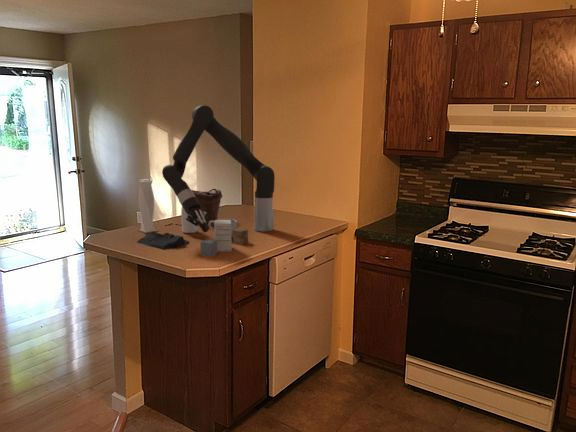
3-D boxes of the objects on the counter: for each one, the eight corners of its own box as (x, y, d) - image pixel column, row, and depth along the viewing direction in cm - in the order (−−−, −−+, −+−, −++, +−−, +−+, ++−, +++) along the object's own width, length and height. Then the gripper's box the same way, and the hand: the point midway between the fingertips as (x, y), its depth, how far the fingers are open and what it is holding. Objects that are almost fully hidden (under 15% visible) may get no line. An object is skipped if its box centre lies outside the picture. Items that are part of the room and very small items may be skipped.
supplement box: (214, 247, 224) (214, 219, 222) (231, 247, 225) (231, 219, 223) (214, 251, 217) (214, 223, 214) (231, 251, 218) (231, 223, 215)
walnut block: (240, 240, 237) (240, 228, 236) (248, 242, 234) (248, 229, 233) (232, 242, 233) (232, 229, 232) (240, 244, 230) (240, 231, 229)
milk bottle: (193, 233, 247) (193, 194, 243) (179, 232, 249) (178, 193, 245) (199, 230, 255) (198, 191, 251) (185, 229, 256) (184, 190, 252)
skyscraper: (159, 231, 251) (158, 176, 245) (145, 234, 245) (143, 177, 239) (150, 228, 256) (148, 174, 250) (136, 231, 250) (134, 175, 245)
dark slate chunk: (160, 236, 242) (159, 227, 241) (192, 244, 230) (191, 234, 229) (134, 243, 230) (133, 233, 229) (166, 251, 217) (165, 241, 216)
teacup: (240, 235, 247) (240, 219, 245) (231, 240, 237) (230, 223, 235) (215, 232, 251) (215, 217, 250) (204, 237, 241) (204, 221, 239)
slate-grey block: (207, 252, 216) (207, 239, 214) (217, 254, 214) (216, 240, 212) (200, 255, 211) (200, 241, 210) (210, 257, 209) (210, 243, 208)
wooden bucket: (229, 218, 283) (229, 187, 279) (206, 225, 266) (205, 192, 263) (206, 215, 292) (205, 185, 289) (181, 221, 276) (180, 189, 272)
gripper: (180, 197, 224) (199, 228, 219) (203, 194, 234) (221, 224, 229) (173, 207, 228) (191, 238, 223) (196, 204, 239) (213, 233, 233)
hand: (206, 231), depth 226 cm, fingers closed
